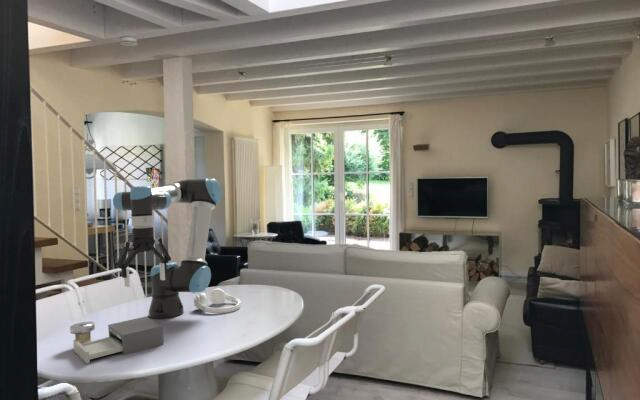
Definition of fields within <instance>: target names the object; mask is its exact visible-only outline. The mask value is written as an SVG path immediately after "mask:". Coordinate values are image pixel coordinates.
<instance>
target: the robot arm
mask: <svg viewBox="0 0 640 400" xmlns="http://www.w3.org/2000/svg"><path fill="white" fill-rule="evenodd" d="M222 198H223V191H222V187H221V184H220V182H219V181H218V180H217V179H215V178H198V179H197V178H196V179H195V178H193V179H189V178H188V179H184V180H179V181H175V182H168V183H167V184H166V185H164V186H163V185H162V186H158V187H151V186H150V185H147V186H146V185H144V186H143V185H140V186H132V187H130V191H120V192H116V193H115V194H114V195H113V198H112V202H113V203H112V204H113V207H114V208H115V210H117V211H124V212H125V211H131V217H130V218H131V227H132V229H131V234H132V235H131V236H132V241H123V247H122V250H121V252H120V255H119V258H118V260H117V262H116V264H115V267H116V268H118V269H120V270H121V278H122V279H124V280H123V281H124V287H126V288H130V285H131V284H130V269H129V268H128V267H129V265H130V264H131V262H133V260H134V259H135V257H136V256H137V255H138V254H139V253H144V252H151V253H152V254H153V255H154V256H155V257H156V258H157V259H158V260H159V261H160V262H159V263H158V264H157V265H154V266H152V267H151V269H150V286H151V301H150V302H151V303H150V306H149V309H148V318H149V319H151V318H152V319H161V320H162V319H169V318H175V317H178V316H181V315H182V314H184V311H185V309H184V306H183V302H182V300H181V298H180V294H179V293H193V294H194V293H203V292H204V291H206V289H207V288H208V287H209V285H210V282H211V279H212V273H211V268H210V267H209V266H208V262H207V261H206V252H207V246H208V239H209V233H210V231H209V230H210V225H211V218H212V211H213V210H214V209H216V205H217V204H219V203H220V202H221V201H222ZM177 203H178V204H179V203H180V204H190V206H191V207H192V213H191V220H190V221H191V222H190V224H189V225H190V226H189V232H188V237H187V245H186V251H185V257H184V258H183V259H182V260H181V261H180V265H179V264H178V262H177V261H173V262H171V261H172V258H171V256H170V254H169V252H168V251H167V249H166V247H165V245H164V242H163V238H162V237H161V238H160V237H157V238H154V236H155V232H154V227H153V226H154V217H153V215H154V214H153V212H154V211H159V210H165V209H168V208H169V207H170V206H171V204H177ZM154 244H156V245H157V246H158V249H159V250H160V252H161V253H160V252H159V251H158V249H156V248H155V246H154ZM131 246H132V247H133V249H132V250H130V248H131ZM129 250H130V251H131V252H130V253H129ZM128 253H129V255H128ZM127 255H128V256H127Z"/></svg>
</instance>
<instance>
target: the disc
mask: <svg viewBox="0 0 640 400" xmlns="http://www.w3.org/2000/svg"><path fill="white" fill-rule="evenodd" d="M69 327H70V328H69V329H70V334H72V335H75V334H82V333H87V332H90V333H91V332H92V331H94V330H95V328H96V326H95V323H94V322H93V321H84V322H77V323H75V324H72V325H70V326H69Z"/></svg>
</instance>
